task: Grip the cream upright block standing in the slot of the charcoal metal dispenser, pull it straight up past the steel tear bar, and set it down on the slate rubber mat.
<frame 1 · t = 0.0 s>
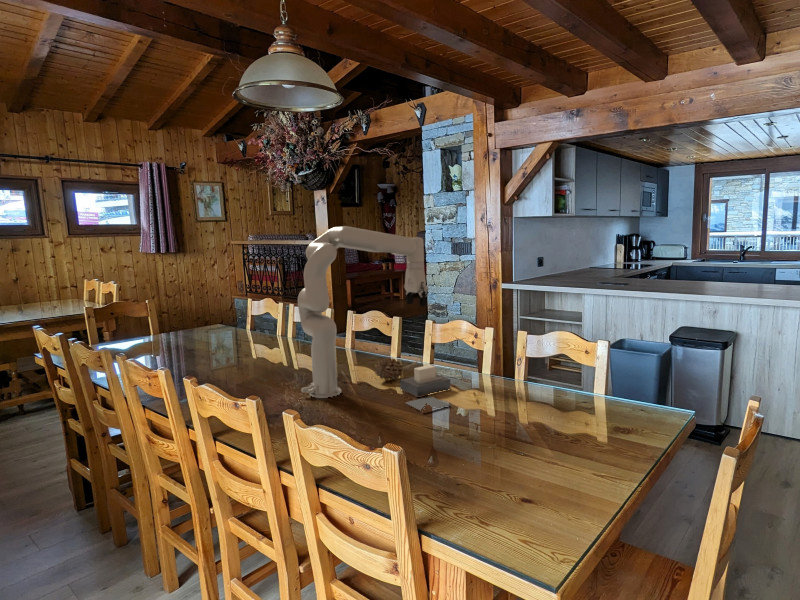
hand: (416, 304, 220), 31 cm above the table, tool pointing down, fingers open, 9 cm apart
cream upright block: (425, 390, 201), resting in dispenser
pine cone: (397, 378, 218), on the table
mat: (427, 405, 183), on the table
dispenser: (425, 390, 201), on the table
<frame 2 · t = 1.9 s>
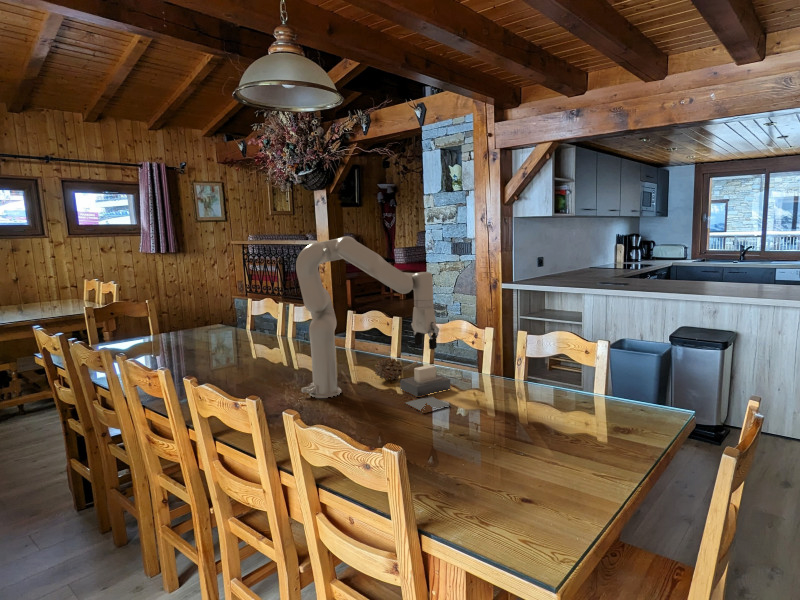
hand: (425, 346, 198), 18 cm above the table, tool pointing down, fingers open, 9 cm apart
nothing on the table moved.
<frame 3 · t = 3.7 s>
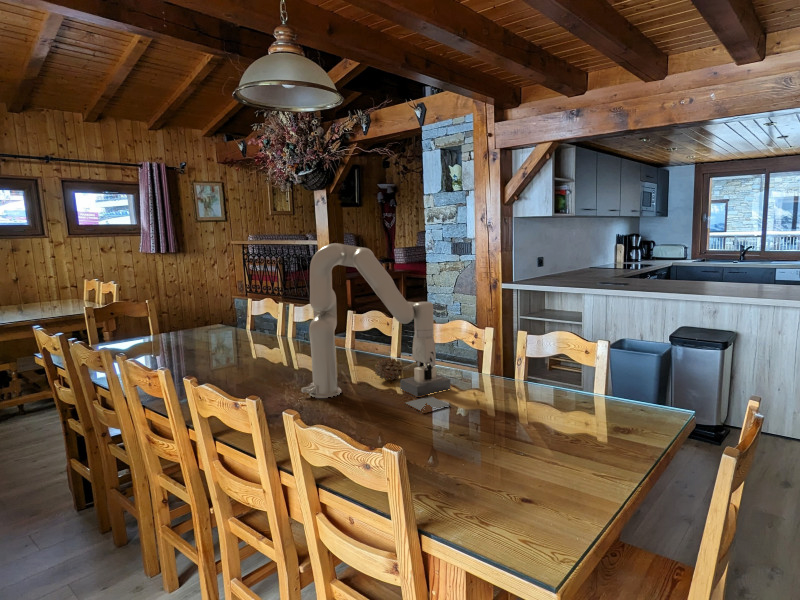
hand: (424, 377, 200), 5 cm above the table, tool pointing down, fingers closed on cream upright block, 3 cm apart
cream upright block: (425, 390, 201), resting in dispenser, touching gripper
everything else where it was.
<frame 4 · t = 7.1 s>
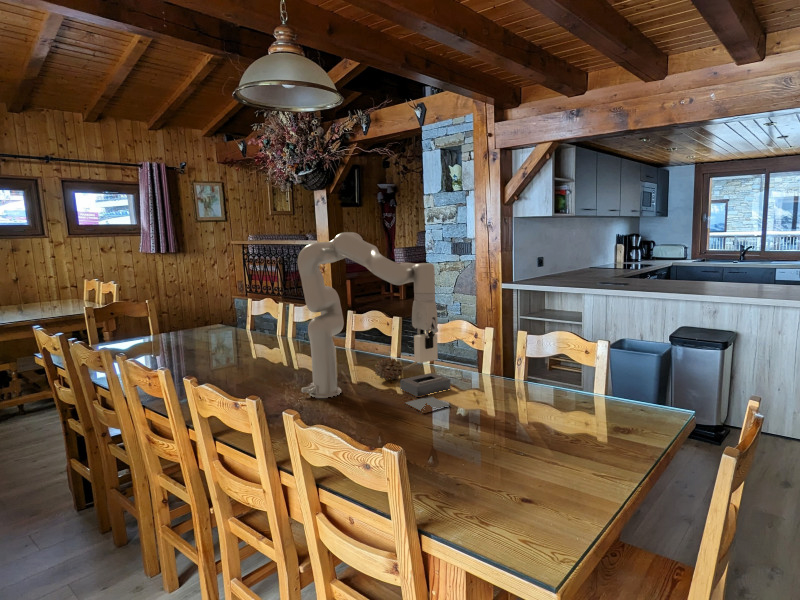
hand: (425, 346, 183), 21 cm above the table, tool pointing down, fingers closed on cream upright block, 3 cm apart
cream upright block: (426, 360, 184), point 16 cm above the table, touching gripper
everything else where it was.
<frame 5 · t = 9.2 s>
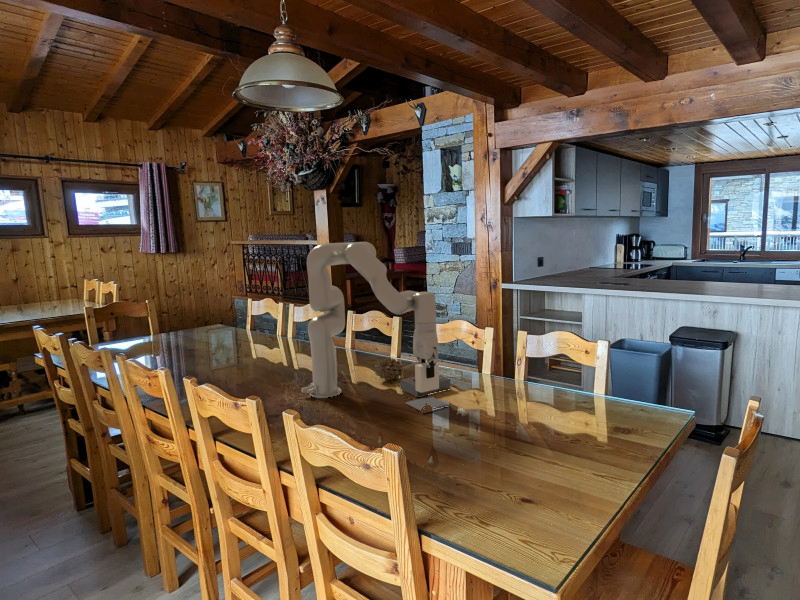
hand: (427, 375, 181), 11 cm above the table, tool pointing down, fingers closed on cream upright block, 3 cm apart
cream upright block: (427, 389, 182), point 6 cm above the table, touching gripper
everything else where it was.
when the fingers open (8 cm above the table, at t = 10.6 s): cream upright block drops 2 cm, resting on mat.
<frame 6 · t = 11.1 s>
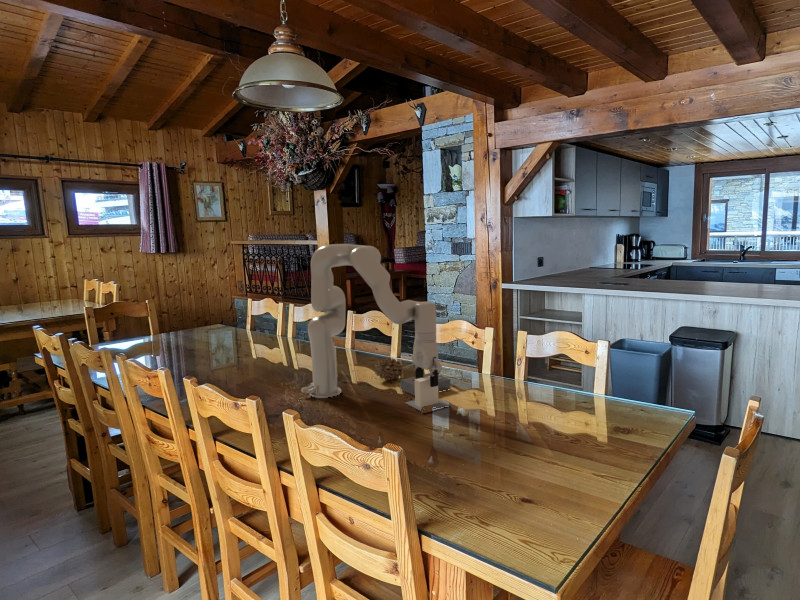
hand: (426, 383, 182), 9 cm above the table, tool pointing down, fingers open, 8 cm apart
cream upright block: (426, 403, 183), point 1 cm above the table, touching mat
everything else where it was.
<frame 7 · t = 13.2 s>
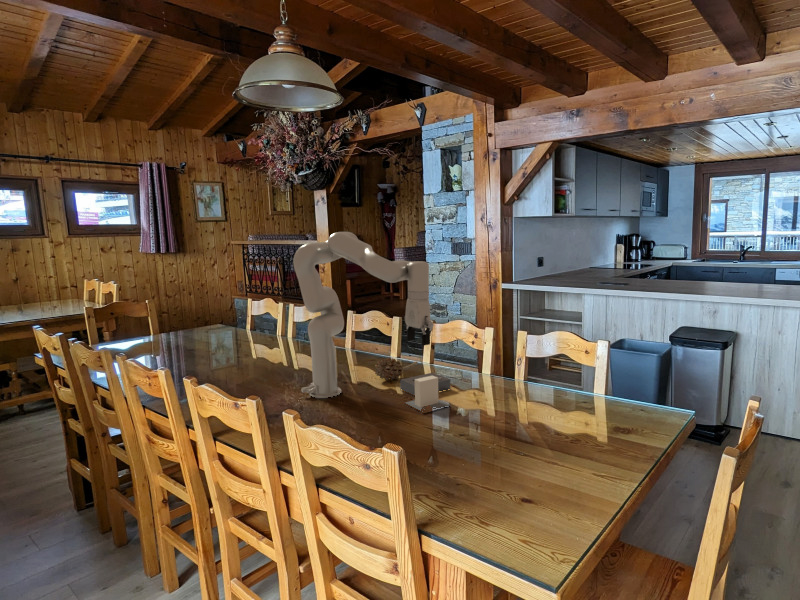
hand: (418, 342, 182), 23 cm above the table, tool pointing down, fingers open, 9 cm apart
nothing on the table moved.
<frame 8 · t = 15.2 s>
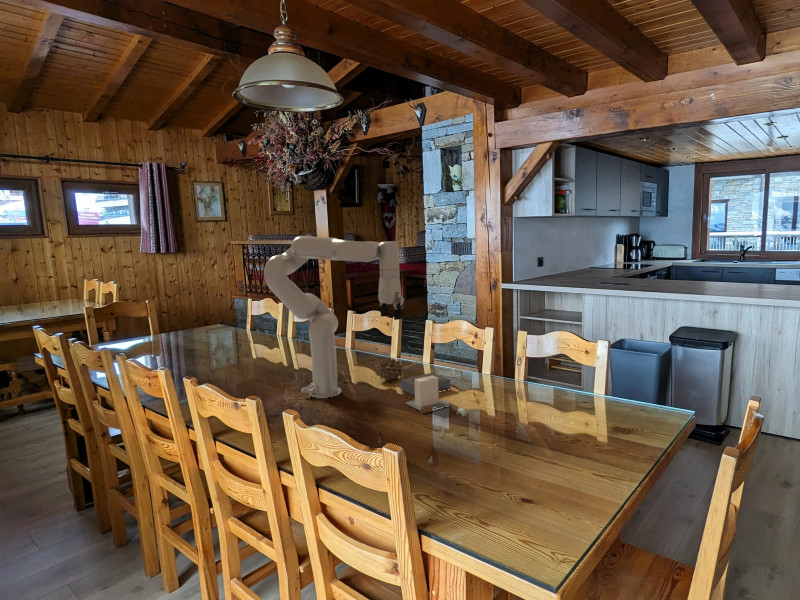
hand: (391, 317, 194), 30 cm above the table, tool pointing down, fingers open, 9 cm apart
nothing on the table moved.
at the end: cream upright block inside the target area on the mat (0.1 cm from its centre), point 0.8 cm above the mat's base; the gripper is holding nothing; cream upright block touching mat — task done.
